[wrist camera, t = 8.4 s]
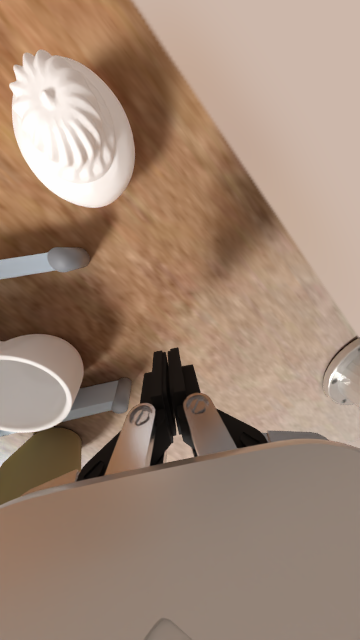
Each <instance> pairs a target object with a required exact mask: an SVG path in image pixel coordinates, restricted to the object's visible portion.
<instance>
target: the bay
mask: <svg viewBox="0 0 360 640" xmlns="http://www.w3.org/2000/svg"><path fill="white" fill-rule="evenodd" d="M89 262H90V257H89V254H88V253H87V252H86V251H85V250H84V249H82V248H69V247H56V248H52V249H51V250H50V251H49V252H48V253H42V254H35V255H29V256H22V257H16V258H10V259H3V260H0V279H6V278H12V277H18V276H24V275H30V274H36V273H42V272H48V271H55V270H56V271H59V272H68V271H71V270H75V269H79V268H82V267H85V266H87V265H88V264H89ZM130 390H131V380H130V379H129V378H121V379H119V380H117V381H112V382H108V383H103V384H99V385H94V386H90V387H85V388H81V389H79V391H78V394H77V396H76V398H75V401H74V403H73V405H72V408H71V410H70V412H69V414H68V415H67V416H66V418H65V419H64V420H63V421H61V422H64V421H68V420H72V419H77V418H81V417H85V416H89V415H93V414H98V413H102V412H106V411H110V410H112V411H113V412H115V413H124V412H126V411H127V409H128V404H129V397H130ZM13 433H17V432H9V431H3V430H0V436H5V435H9V434H13Z"/></svg>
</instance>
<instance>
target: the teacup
mask: <svg viewBox="0 0 360 640" xmlns="http://www.w3.org/2000/svg"><path fill="white" fill-rule="evenodd" d="M83 374H84V368H83V362H82V359H81V356H80V354H79V353H78V351H77V350H76V349H75V348H74V347H73V346H72V345H71V344H70V343H68V342H67V341H65V340H63V339H61V338H59V337H56V336H52V335H47V334H30V335H24V336H19V337H15V338H12V339H10V340H7V341H5V342H4V341H0V430H3V431H9V432H36V431H41V430H45V429H48V428H51V427H53V426H55V425H57V424H58V423H60V422H61V421H63V420H64V419H65V418H66V416H67V415H68V414H69V412H70V410H71V408H72V405H73V403H74V401H75V398H76V396H77V394H78V391H79V388H80V386H81V383H82V379H83Z"/></svg>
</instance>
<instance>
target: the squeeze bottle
mask: <svg viewBox="0 0 360 640" xmlns="http://www.w3.org/2000/svg"><path fill="white" fill-rule="evenodd" d="M76 469H78V471H80V470H81V439H80V437H79V436H78V435H77V434H76V433H74V432H73V431H71V430H68V429H64V428H48V429H45V430H41V431H39V432H37V433H36V434H34V435H33V436H32V437H31V438H30V439H29V440H28V441H27V442H26V443H24V444H23V445H22V446H21V447H20V448H19V449H18V450H17V451H16V452H15V453H14V454H12V455H11V456H10V457H9V458H8V459H7V460H6V461H5V462H4V463H3V464H2V466H1V467H0V505H2V504H4V503H7V502H9V501H11V500H13V499H16V498H18V497H20V496H21V495H22V494H24V493H25V492H27V491H29V490H30V489H32V488H35V487H37V486H39V485H41V484H44V483H46V482H48V481H51V480H53V479H55V478H57V477H60V476H62V475H64V474H67V473H69V472H71V471H73V470H76Z"/></svg>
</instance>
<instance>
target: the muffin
mask: <svg viewBox="0 0 360 640" xmlns="http://www.w3.org/2000/svg"><path fill="white" fill-rule="evenodd" d="M13 68H14V72H15V75H16V79H17V80H16V81H15V82H12V83H10V84H9V86H10V89H11V90H12V92H13V101H12V119H13V127H14V132H15V137H16V140H17V143H18V146H19V148H20V151H21V153H22V155H23V157H24V159H25V160H26V162H27V164H28V165H29V167H30V168H31V170H32V171H33V172H34V174H35V175H36V176H37V178H38V179H39V180H40V181H41V182H42V183H43V184H44V185H45V186H46V187H47V188H48V189H49V190H51V191H52V192H53V193H55V194H56V195H58V196H59V197H61V198H63V199H64V200H66V201H69V202H71V203H73V204H77V205H80V206H84V207H91V208H98V207H103V206H106V205H109V204H110V203H112V202H114V201H115V200H116V199H117V198H118V197H119V196H120V195H121V194H122V193H123V192H124V190H125V189H126V187H127V186H128V184H129V182H130V179H131V177H132V173H133V169H134V164H135V147H134V140H133V134H132V131H131V127H130V124H129V121H128V118H127V116H126V114H125V112H124V109H123V107H122V106H121V104H120V102H119V101H118V99H117V98H116V96H115V95H114V93H113V92H112V91H111V90H110V88H109V87H108V86H107V85H106V84H105V83H104V81H103V80H102V79H101V78H99V77H98V76H97V75H96V74H95V73H94V72H93V71H91V70H90V69H89V68H87V67H86V66H84V65H83V64H81V63H79V62H77V61H75V60H72V59H70V58H66V57H61V56H58V55H54V56H51V55H50V54H49V53H48V52H47V51H45V50H39V51H37V53H36V55H35V56H33V55H32V54H30V53H24V54H23V66H20V65H14V67H13Z"/></svg>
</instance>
